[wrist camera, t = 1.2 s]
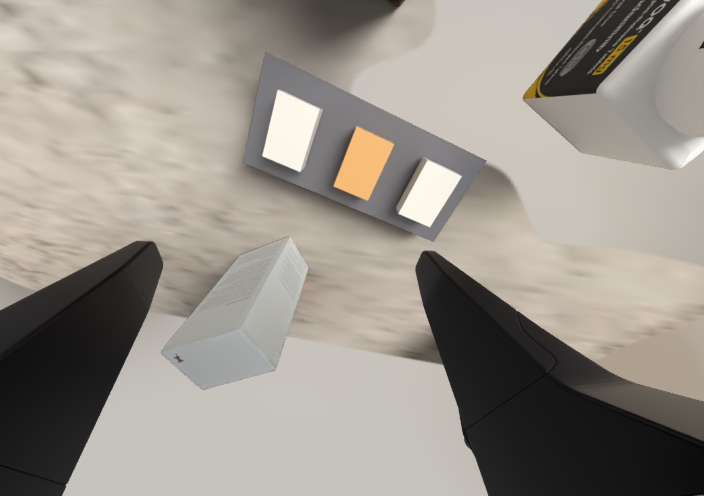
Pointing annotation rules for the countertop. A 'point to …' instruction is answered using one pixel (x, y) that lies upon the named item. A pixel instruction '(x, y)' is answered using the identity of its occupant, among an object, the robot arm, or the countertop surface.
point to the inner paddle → (427, 192)
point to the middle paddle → (363, 163)
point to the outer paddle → (291, 131)
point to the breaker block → (335, 139)
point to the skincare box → (241, 318)
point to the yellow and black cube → (396, 2)
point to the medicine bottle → (630, 83)
